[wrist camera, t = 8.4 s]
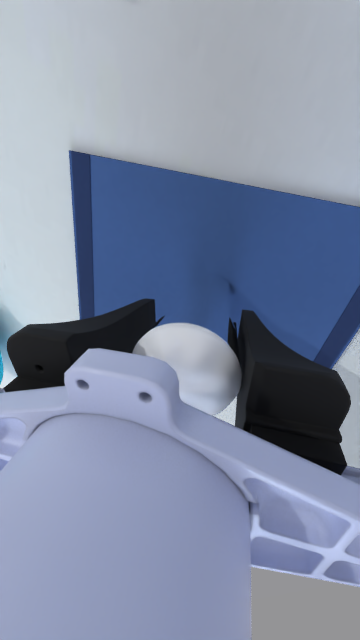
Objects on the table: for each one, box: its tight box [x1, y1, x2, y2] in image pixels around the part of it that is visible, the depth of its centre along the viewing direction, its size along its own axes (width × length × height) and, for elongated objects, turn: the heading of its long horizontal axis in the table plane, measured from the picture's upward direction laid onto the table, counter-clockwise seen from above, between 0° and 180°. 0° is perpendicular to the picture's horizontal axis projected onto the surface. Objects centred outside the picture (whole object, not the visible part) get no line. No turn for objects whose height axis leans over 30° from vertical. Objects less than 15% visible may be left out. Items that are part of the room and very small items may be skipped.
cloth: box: [69, 151, 360, 369], centre depth 17 cm, size 20×14×1 cm
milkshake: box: [132, 274, 242, 416], centre depth 12 cm, size 4×5×10 cm
